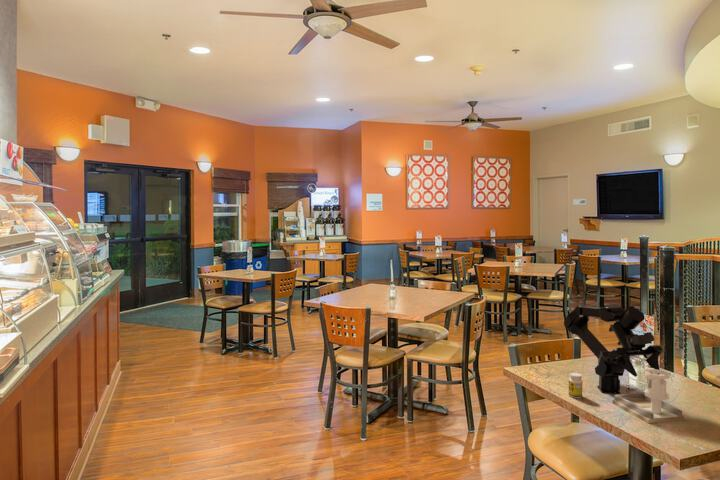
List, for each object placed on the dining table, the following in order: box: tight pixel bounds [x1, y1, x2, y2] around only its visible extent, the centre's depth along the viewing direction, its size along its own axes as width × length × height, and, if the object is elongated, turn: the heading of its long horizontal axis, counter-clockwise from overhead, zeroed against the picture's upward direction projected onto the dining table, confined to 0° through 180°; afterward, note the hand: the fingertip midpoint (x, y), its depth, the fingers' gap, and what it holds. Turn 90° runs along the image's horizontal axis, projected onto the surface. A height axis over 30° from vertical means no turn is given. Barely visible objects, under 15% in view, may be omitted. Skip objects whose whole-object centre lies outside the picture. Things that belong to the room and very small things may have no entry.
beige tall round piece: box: [644, 367, 670, 414], centre depth 168 cm, size 7×7×15 cm
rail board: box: [611, 391, 685, 424], centre depth 173 cm, size 17×14×3 cm
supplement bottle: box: [568, 372, 583, 399], centre depth 186 cm, size 5×5×8 cm
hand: (647, 375), depth 172 cm, fingers open, 9 cm apart
